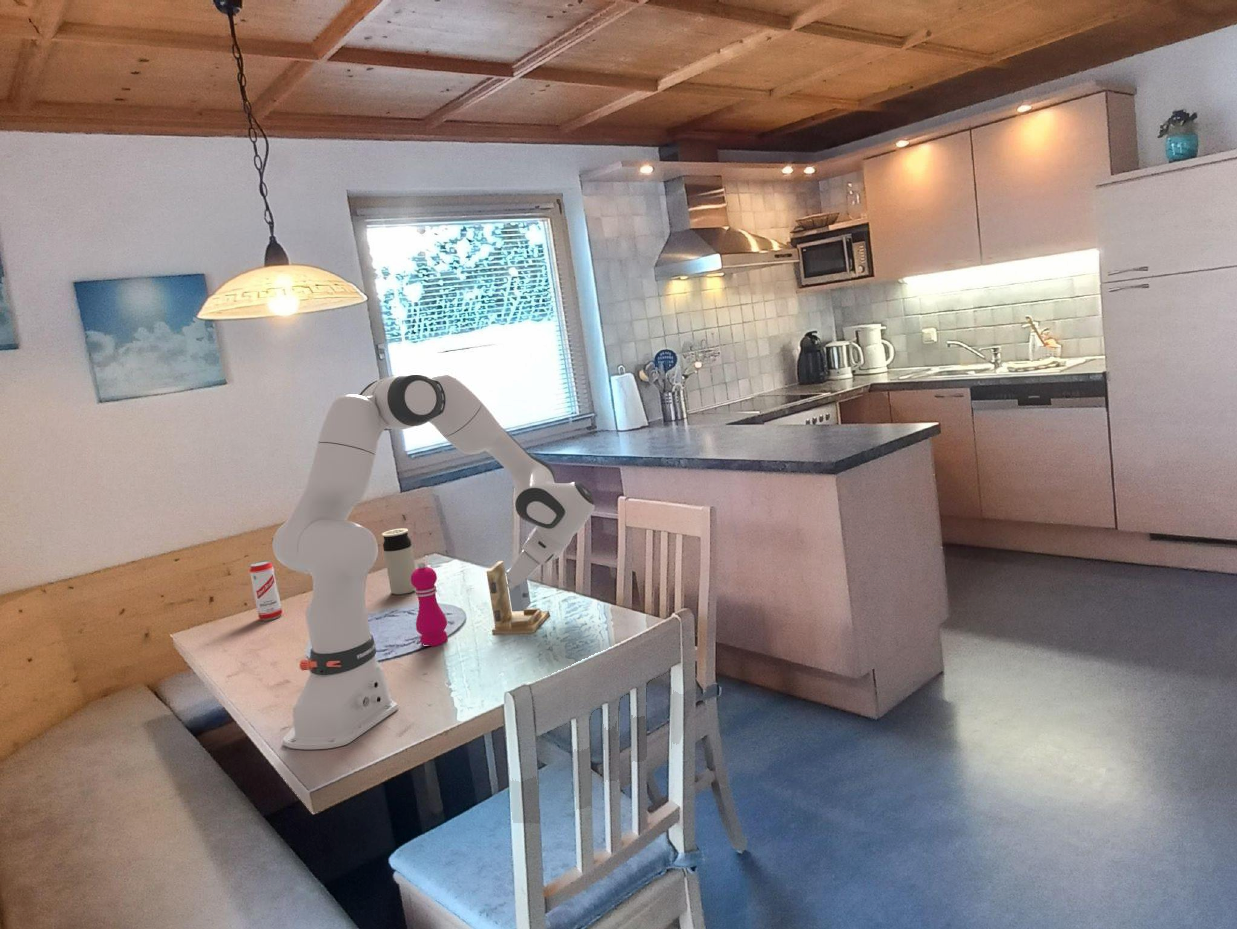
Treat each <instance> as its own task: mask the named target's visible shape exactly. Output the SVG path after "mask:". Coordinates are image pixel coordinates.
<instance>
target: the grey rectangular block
mask: <svg viewBox="0 0 1237 929" xmlns="http://www.w3.org/2000/svg"><path fill="white" fill-rule="evenodd" d="M510 569H511V567H510V568H509V569H507V570H505V574H506V580H507V584H508V583H509V582H510V579H508V577H507V574H508V572H509V570H510ZM507 587H508V586H507ZM508 593H509V600H510V607H511V612H524V610H525V609H528V608H529V606H530V605H531V604H532V602H531V597H530V596H531V595H530V589H529V583H528V577H527V578H526V579H525V580H524V581H523V582H522V583H521V584H519V585H516V587H515V588H514V589H513V590H511V589H510V588H509V587H508Z"/></svg>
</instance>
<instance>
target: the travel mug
mask: <svg viewBox="0 0 1237 929" xmlns="http://www.w3.org/2000/svg"><path fill="white" fill-rule="evenodd" d="M408 532H409V529H408V528H403V527H402V528H393V529H390V530H387V531H384V532H382V533H381V535H382V537H383V539H384V541H383V544H382V549H383V553H384V559H385V564H386V570H387V577H388V582H389V589H390V593H391V594H393V595H396V596H398V595H399V596H400V595H406V594H410V593H413V592H415V589H416V588H415V587H414V586H413V585H412V583H411V575H412V573H413V572H414V571H415V570H416V569H417V567H416V562H415V556H414V551H413V546H412V544H413V543H412V540H411V538H410V537H409V535H408Z"/></svg>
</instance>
